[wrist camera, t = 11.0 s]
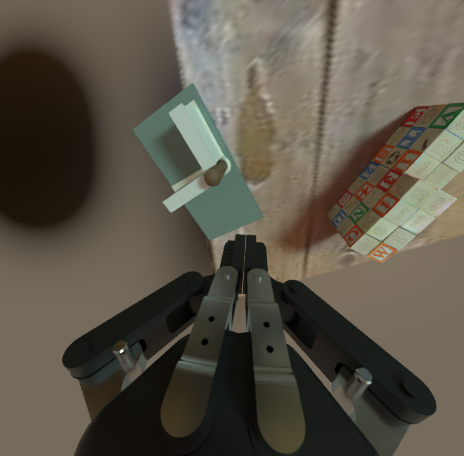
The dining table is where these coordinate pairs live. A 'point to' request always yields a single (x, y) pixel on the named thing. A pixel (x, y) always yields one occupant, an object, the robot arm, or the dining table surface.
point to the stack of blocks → (403, 183)
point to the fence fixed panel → (196, 135)
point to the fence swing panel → (187, 192)
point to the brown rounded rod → (216, 173)
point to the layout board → (198, 169)
